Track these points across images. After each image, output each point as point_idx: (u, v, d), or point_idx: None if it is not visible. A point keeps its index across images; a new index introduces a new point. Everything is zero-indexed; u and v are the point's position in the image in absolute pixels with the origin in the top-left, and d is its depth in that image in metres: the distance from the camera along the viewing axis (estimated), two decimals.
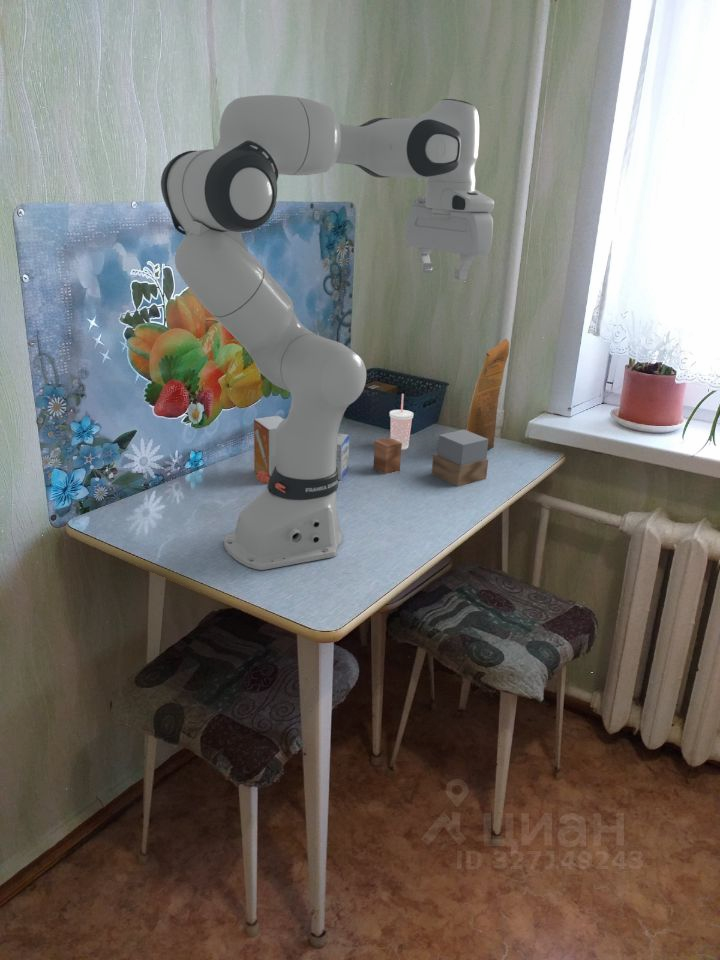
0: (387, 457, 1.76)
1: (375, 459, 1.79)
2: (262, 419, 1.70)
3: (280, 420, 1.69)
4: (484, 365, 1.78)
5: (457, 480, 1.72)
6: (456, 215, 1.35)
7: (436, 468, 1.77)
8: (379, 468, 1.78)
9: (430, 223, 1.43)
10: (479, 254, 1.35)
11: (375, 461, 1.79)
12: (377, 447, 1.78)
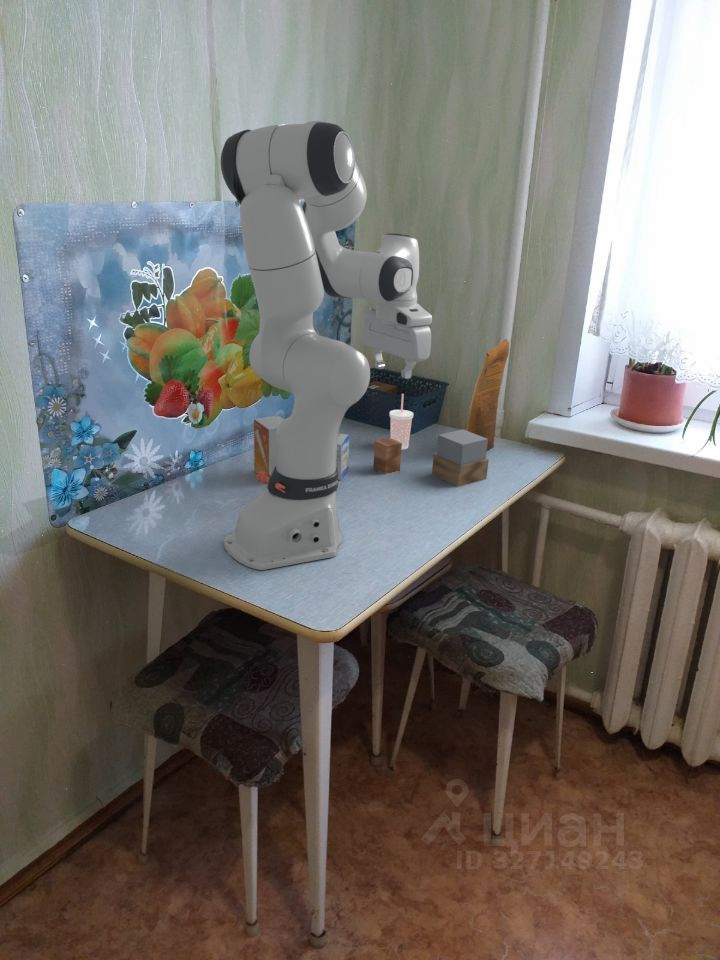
0: (387, 457, 1.76)
1: (375, 459, 1.79)
2: (262, 419, 1.70)
3: (280, 420, 1.69)
4: (484, 365, 1.78)
5: (457, 480, 1.72)
6: (400, 328, 1.62)
7: (437, 468, 1.77)
8: (379, 468, 1.78)
9: (380, 329, 1.69)
10: (419, 360, 1.62)
11: (375, 461, 1.79)
12: (377, 447, 1.78)
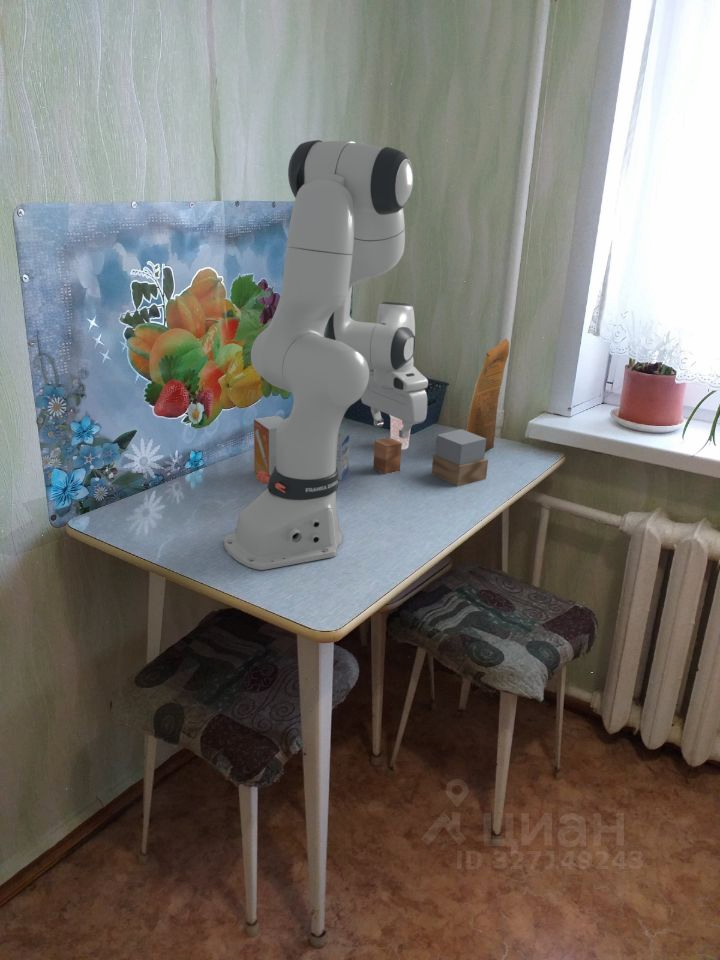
0: (387, 457, 1.76)
1: (375, 459, 1.79)
2: (262, 419, 1.70)
3: (280, 420, 1.69)
4: (484, 365, 1.78)
5: (457, 480, 1.72)
6: (397, 392, 1.67)
7: (436, 468, 1.77)
8: (379, 468, 1.78)
9: (378, 390, 1.75)
10: (416, 423, 1.67)
11: (375, 461, 1.79)
12: (377, 447, 1.78)
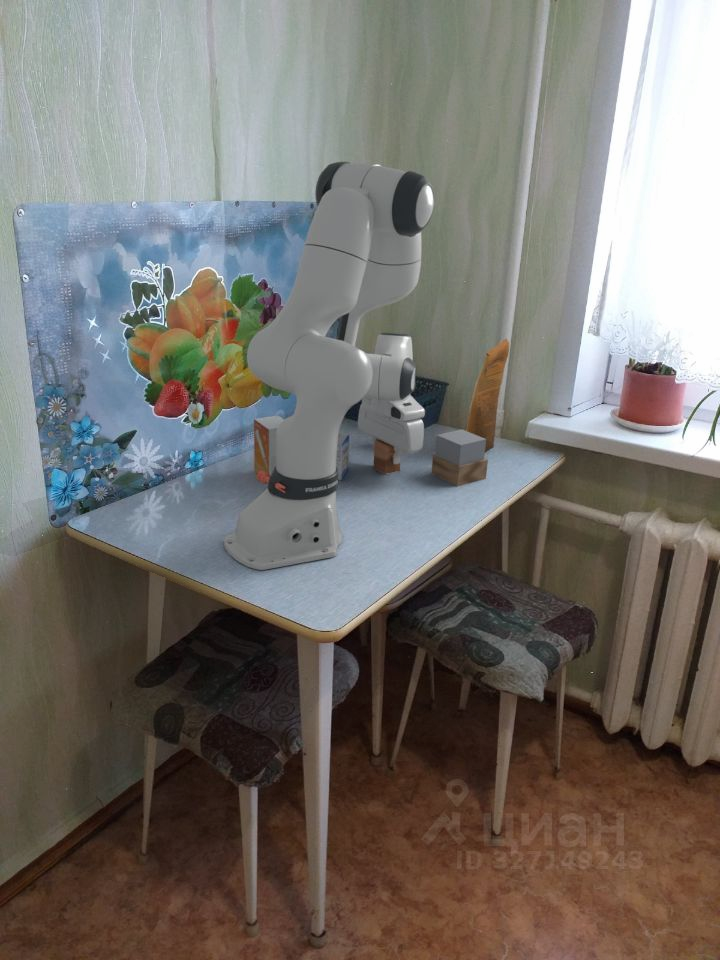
0: (387, 457, 1.76)
1: (375, 459, 1.79)
2: (262, 419, 1.70)
3: (280, 420, 1.69)
4: (484, 365, 1.78)
5: (456, 480, 1.72)
6: (394, 421, 1.70)
7: (436, 468, 1.77)
8: (379, 468, 1.78)
9: (375, 418, 1.77)
10: (413, 451, 1.70)
11: (375, 461, 1.79)
12: (377, 447, 1.78)
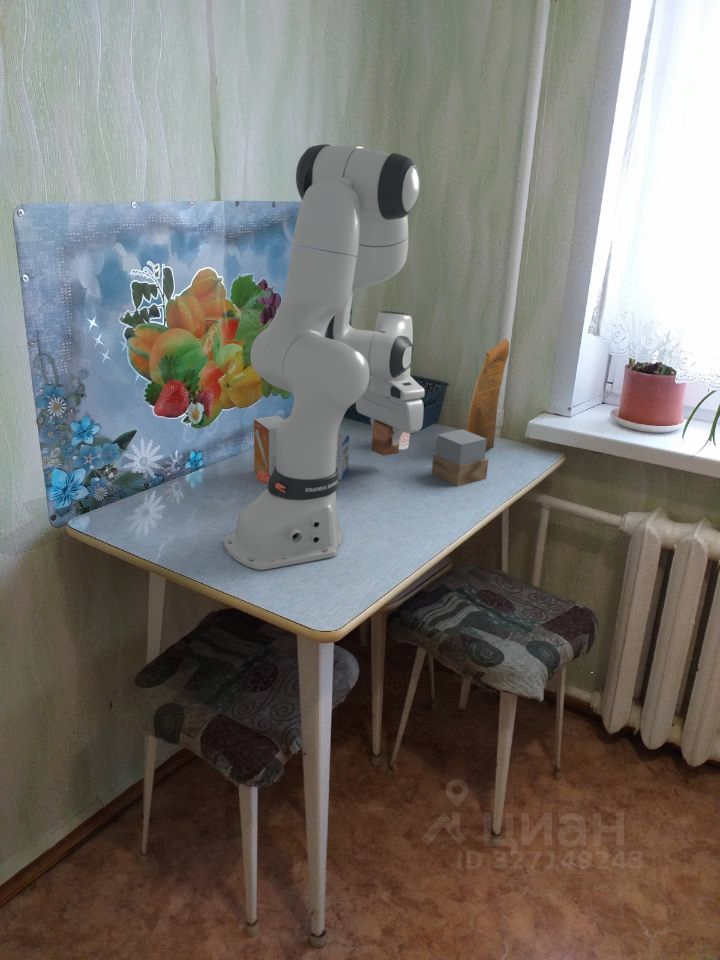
0: (386, 438, 1.74)
1: (374, 441, 1.77)
2: (262, 419, 1.70)
3: (280, 420, 1.69)
4: (484, 365, 1.78)
5: (457, 480, 1.72)
6: (394, 400, 1.68)
7: (436, 467, 1.77)
8: (377, 450, 1.76)
9: (374, 399, 1.75)
10: (412, 432, 1.68)
11: (373, 443, 1.77)
12: (375, 428, 1.76)
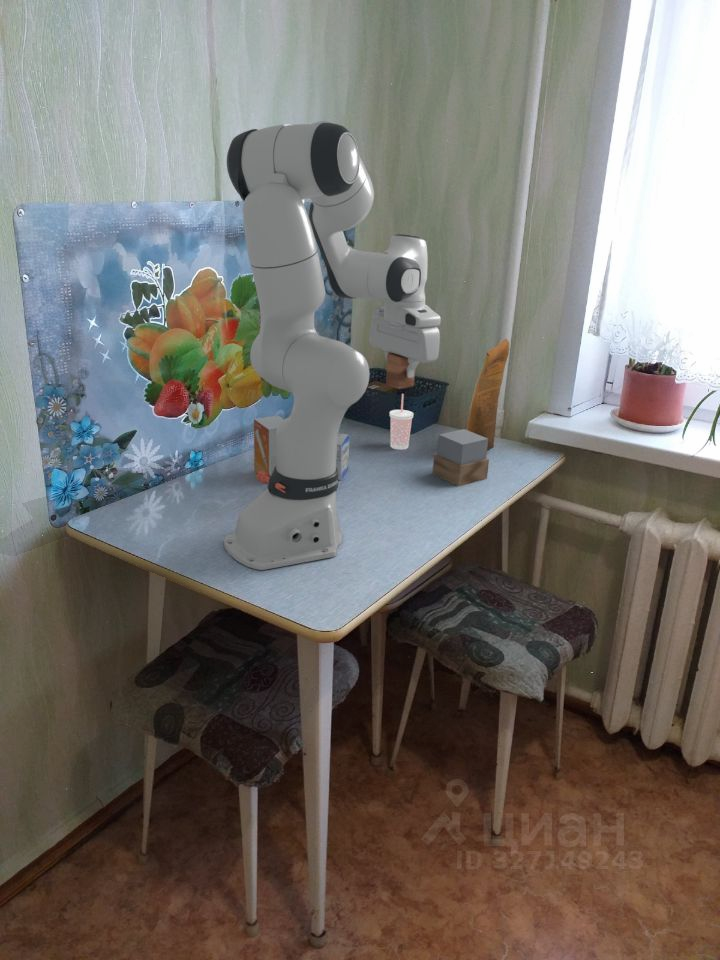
0: (401, 370, 1.68)
1: (388, 374, 1.71)
2: (262, 419, 1.70)
3: (280, 420, 1.69)
4: (484, 365, 1.78)
5: (458, 480, 1.72)
6: (409, 329, 1.62)
7: (437, 468, 1.77)
8: (392, 383, 1.71)
9: (388, 330, 1.69)
10: (428, 361, 1.62)
11: (388, 376, 1.71)
12: (390, 360, 1.70)
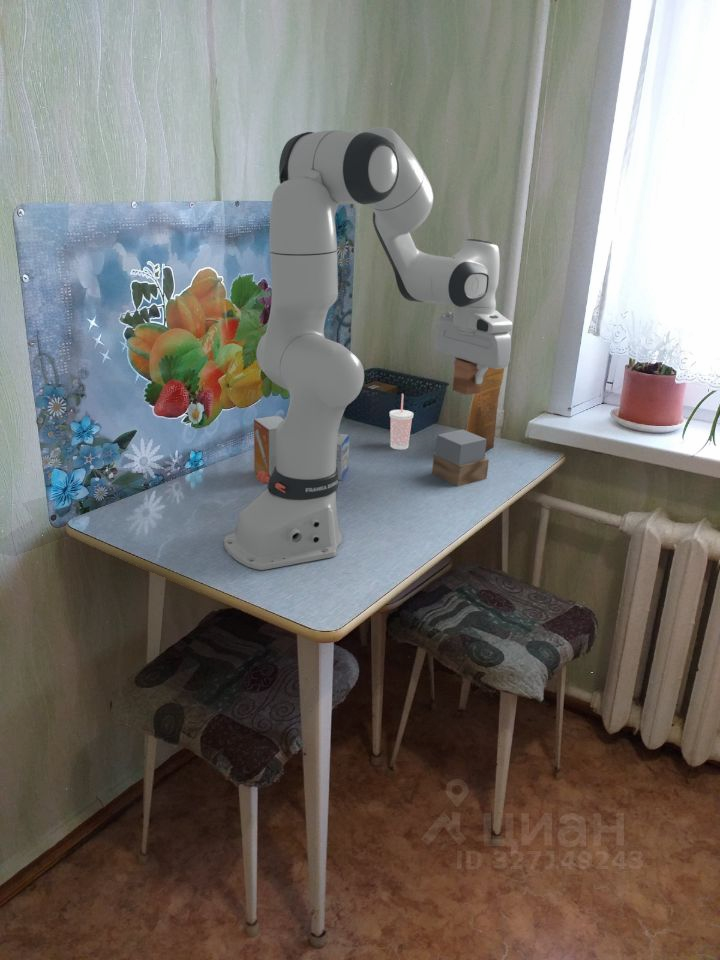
0: (469, 376, 1.66)
1: (455, 380, 1.69)
2: (262, 419, 1.70)
3: (280, 420, 1.69)
4: None
5: (457, 480, 1.72)
6: (480, 335, 1.60)
7: (437, 467, 1.77)
8: (460, 389, 1.69)
9: (456, 336, 1.67)
10: (499, 367, 1.60)
11: (455, 382, 1.70)
12: (457, 366, 1.68)
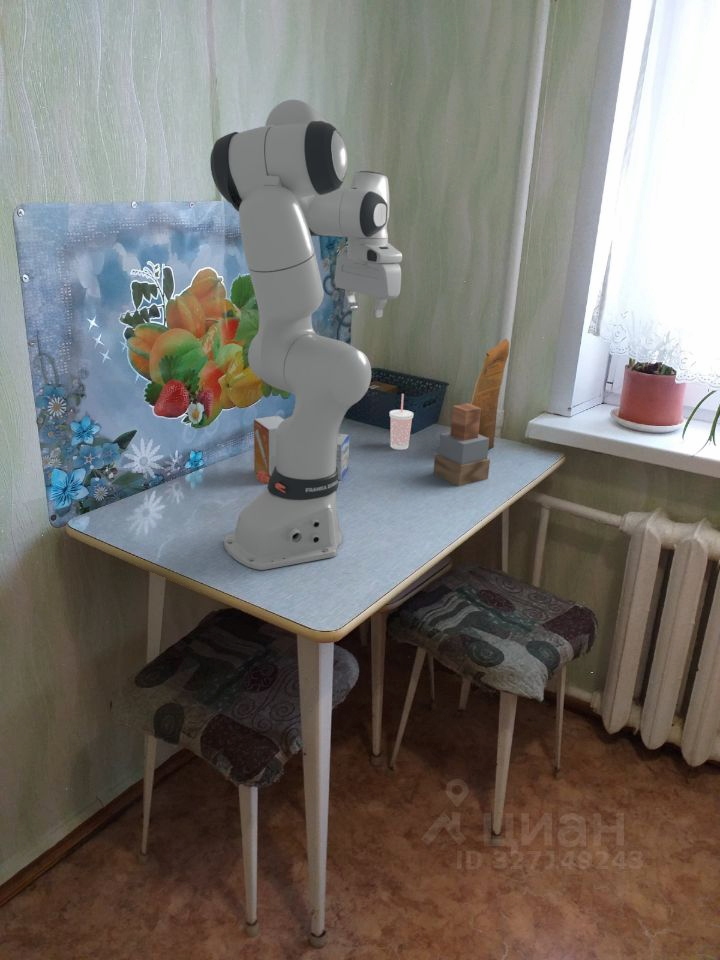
0: (466, 422, 1.70)
1: (453, 425, 1.74)
2: (262, 419, 1.70)
3: (280, 420, 1.69)
4: (484, 365, 1.78)
5: (458, 480, 1.72)
6: (370, 265, 1.64)
7: (438, 467, 1.77)
8: (457, 434, 1.73)
9: (352, 270, 1.71)
10: (389, 297, 1.64)
11: (453, 427, 1.74)
12: (455, 412, 1.72)
